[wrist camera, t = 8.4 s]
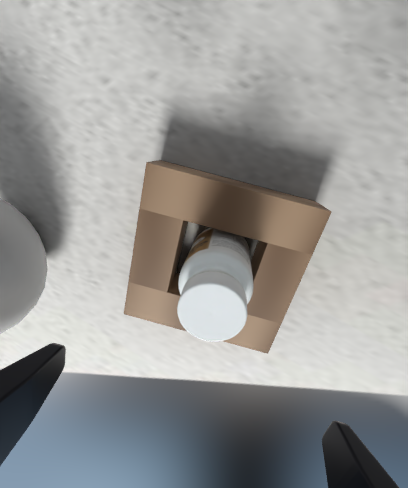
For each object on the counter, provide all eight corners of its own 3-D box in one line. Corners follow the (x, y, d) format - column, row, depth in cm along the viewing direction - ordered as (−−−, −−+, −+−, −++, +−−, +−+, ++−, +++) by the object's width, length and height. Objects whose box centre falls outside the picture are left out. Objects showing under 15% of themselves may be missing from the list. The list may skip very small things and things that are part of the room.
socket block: (315, 201, 17) (338, 216, 13) (263, 326, 21) (269, 364, 18) (160, 160, 17) (140, 163, 14) (138, 292, 21) (118, 322, 18)
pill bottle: (197, 219, 19) (173, 264, 11) (255, 231, 18) (268, 286, 11) (187, 271, 20) (161, 339, 13) (241, 282, 20) (244, 358, 13)
